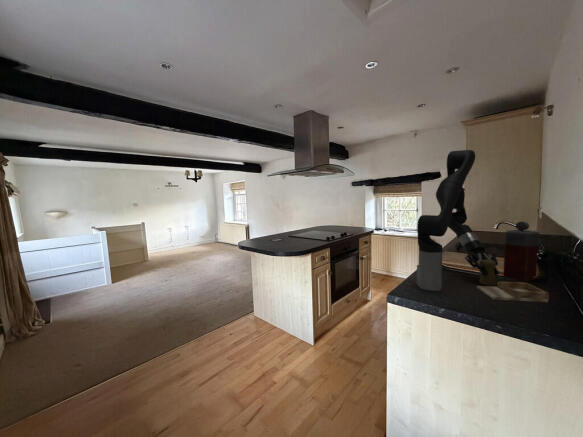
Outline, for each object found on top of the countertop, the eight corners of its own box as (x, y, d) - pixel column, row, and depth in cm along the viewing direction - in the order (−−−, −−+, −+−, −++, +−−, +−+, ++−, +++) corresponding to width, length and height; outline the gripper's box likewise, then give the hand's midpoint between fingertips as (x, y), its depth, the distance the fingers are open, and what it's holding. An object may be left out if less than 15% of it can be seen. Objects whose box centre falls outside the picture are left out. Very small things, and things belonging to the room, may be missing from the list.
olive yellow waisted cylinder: (499, 285, 105) (500, 262, 104) (483, 285, 107) (485, 261, 106) (490, 281, 111) (492, 258, 110) (476, 280, 112) (477, 258, 112)
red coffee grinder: (538, 278, 115) (542, 221, 113) (525, 281, 111) (529, 223, 109) (516, 272, 123) (519, 220, 121) (503, 276, 119) (505, 221, 117)
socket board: (493, 299, 94) (494, 290, 94) (476, 288, 105) (477, 280, 105) (549, 302, 90) (550, 293, 90) (525, 290, 102) (526, 282, 101)
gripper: (461, 239, 114) (482, 271, 103) (489, 238, 115) (512, 270, 104) (453, 248, 120) (471, 279, 109) (480, 247, 121) (500, 278, 110)
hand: (491, 274), depth 107 cm, fingers closed on olive yellow waisted cylinder, 4 cm apart
